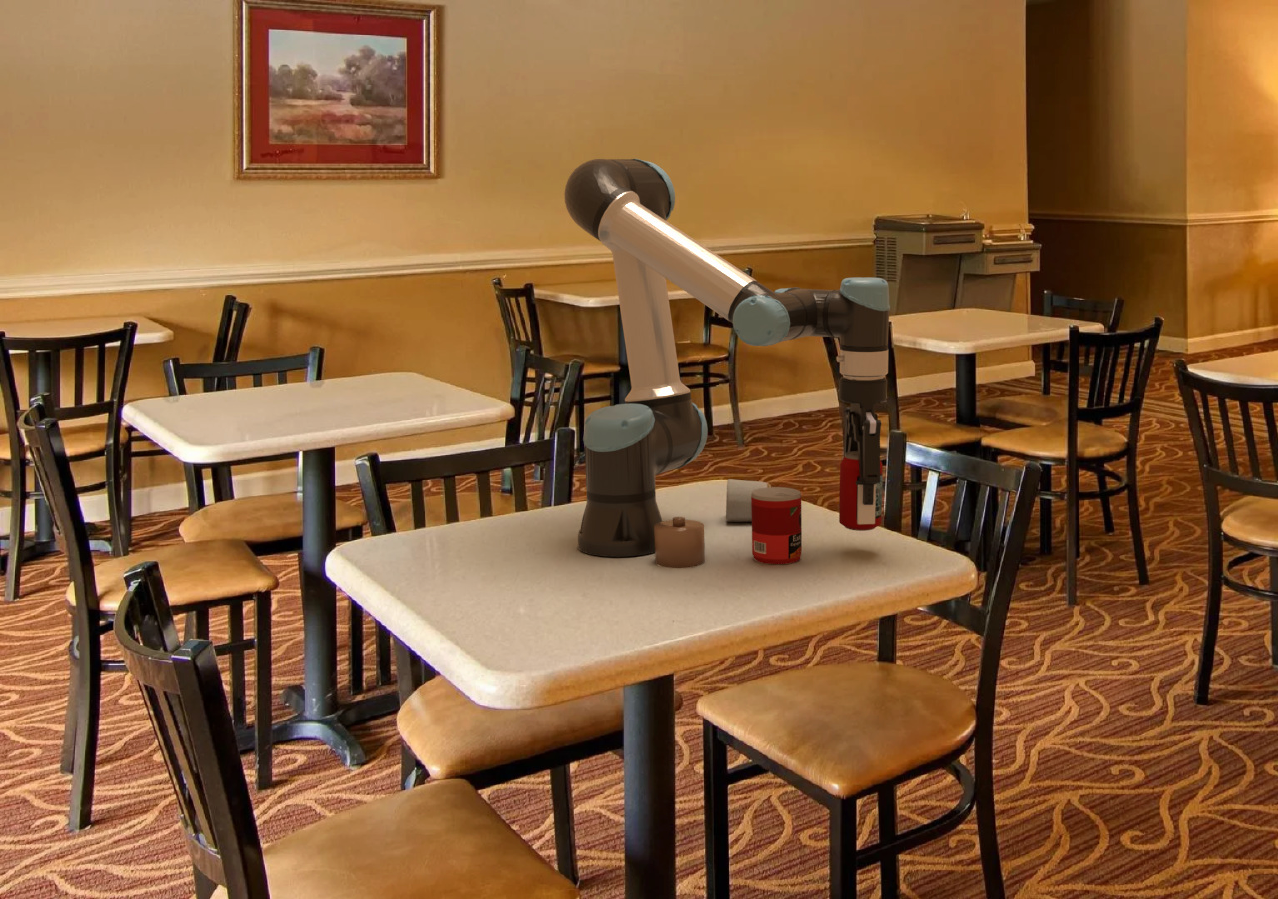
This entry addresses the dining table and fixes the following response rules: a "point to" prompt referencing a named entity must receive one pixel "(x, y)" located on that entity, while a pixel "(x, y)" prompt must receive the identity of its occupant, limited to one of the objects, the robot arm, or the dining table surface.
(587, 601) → the dining table surface
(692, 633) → the dining table surface
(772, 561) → the canned food
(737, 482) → the ceramic mug
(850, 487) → the beverage can
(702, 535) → the sugar bowl
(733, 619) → the dining table surface
